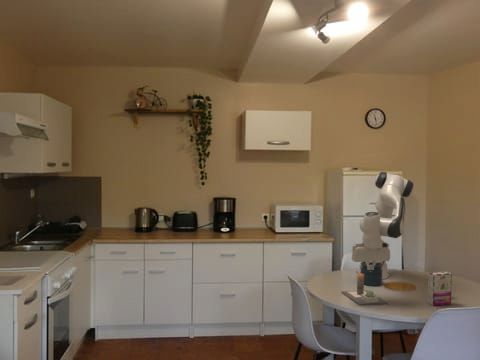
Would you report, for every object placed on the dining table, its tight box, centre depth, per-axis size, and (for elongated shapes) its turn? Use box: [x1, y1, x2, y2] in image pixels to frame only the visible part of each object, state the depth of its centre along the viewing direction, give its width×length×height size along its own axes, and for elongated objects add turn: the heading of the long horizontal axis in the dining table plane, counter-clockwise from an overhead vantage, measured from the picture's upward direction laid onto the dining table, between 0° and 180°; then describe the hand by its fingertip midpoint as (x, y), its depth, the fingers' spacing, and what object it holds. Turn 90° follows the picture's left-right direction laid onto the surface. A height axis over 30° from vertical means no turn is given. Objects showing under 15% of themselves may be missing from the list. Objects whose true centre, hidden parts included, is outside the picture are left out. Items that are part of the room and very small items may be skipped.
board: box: [340, 289, 389, 307], centre depth 233 cm, size 22×16×3 cm
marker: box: [356, 273, 365, 295], centre depth 237 cm, size 4×4×11 cm
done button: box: [366, 290, 374, 297], centre depth 226 cm, size 4×4×3 cm
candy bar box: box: [426, 270, 453, 307], centre depth 225 cm, size 11×5×16 cm, turn 105°
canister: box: [359, 261, 383, 287], centre depth 262 cm, size 13×13×18 cm
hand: (370, 269), depth 226 cm, fingers closed
